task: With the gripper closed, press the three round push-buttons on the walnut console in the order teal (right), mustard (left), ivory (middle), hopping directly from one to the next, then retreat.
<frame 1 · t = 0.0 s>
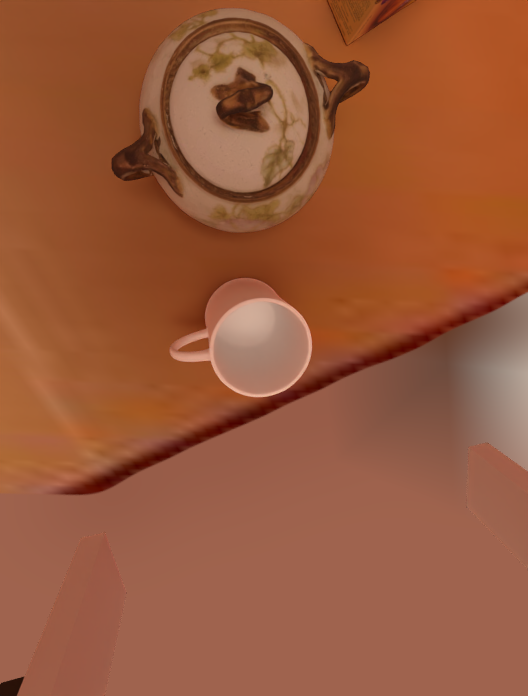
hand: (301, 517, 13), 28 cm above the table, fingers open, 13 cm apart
sugar bowl: (232, 151, 34), on the table
mug: (229, 318, 39), on the table
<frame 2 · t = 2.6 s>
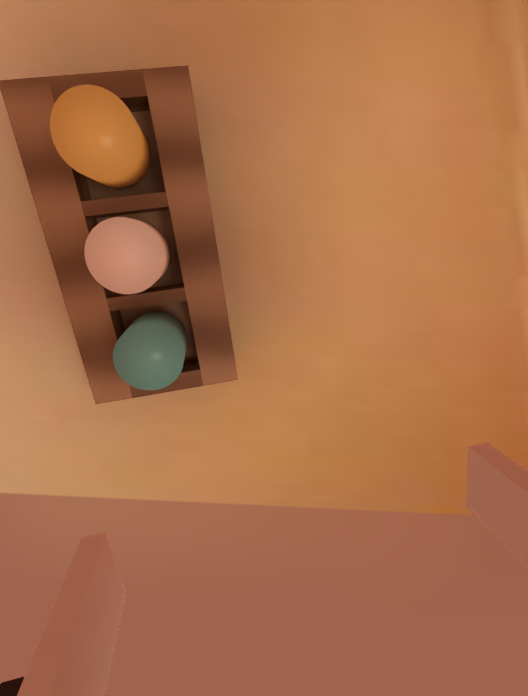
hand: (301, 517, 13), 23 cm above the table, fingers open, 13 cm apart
console: (145, 251, 31), on the table
teal button: (153, 348, 28), point 6 cm above the table, slide at 0.0 cm
ivory button: (132, 254, 25), point 6 cm above the table, slide at 0.0 cm
mustard button: (106, 143, 23), point 6 cm above the table, slide at 0.0 cm
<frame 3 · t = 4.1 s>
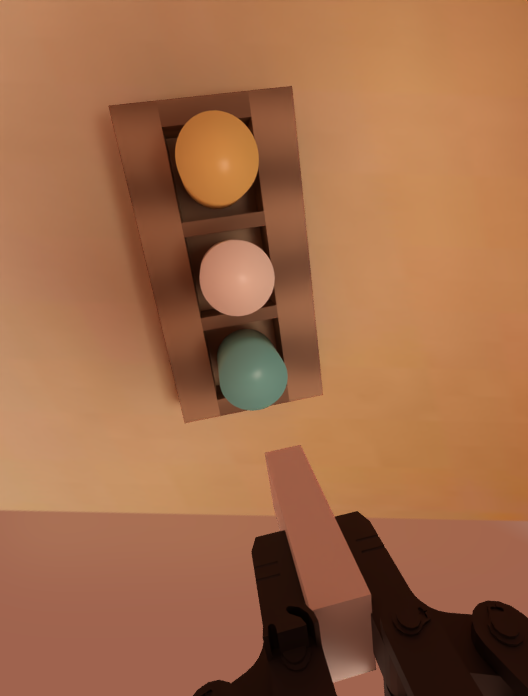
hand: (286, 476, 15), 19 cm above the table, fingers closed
console: (228, 268, 31), on the table
teal button: (249, 367, 27), point 6 cm above the table, slide at 0.0 cm
ivory button: (234, 275, 25), point 6 cm above the table, slide at 0.0 cm
mustard button: (216, 166, 23), point 6 cm above the table, slide at 0.0 cm
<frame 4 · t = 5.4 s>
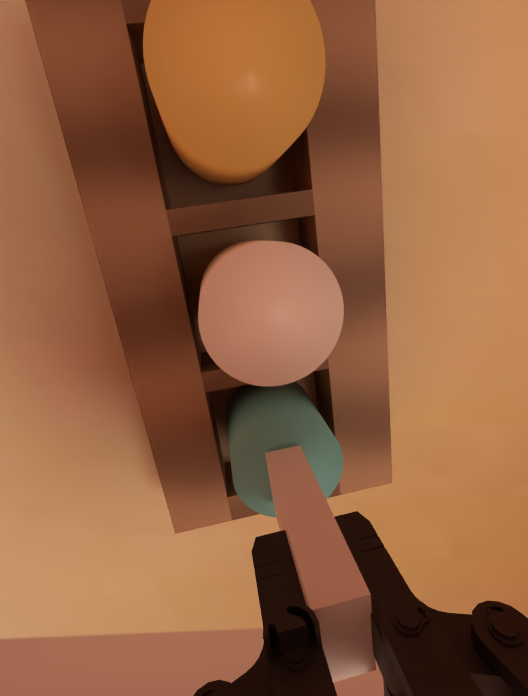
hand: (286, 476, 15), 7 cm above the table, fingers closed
console: (245, 285, 19), on the table
teal button: (277, 439, 18), point 4 cm above the table, slide at -1.4 cm, touching gripper
ivory button: (261, 304, 14), point 6 cm above the table, slide at 0.0 cm
mustard button: (231, 96, 12), point 6 cm above the table, slide at 0.0 cm
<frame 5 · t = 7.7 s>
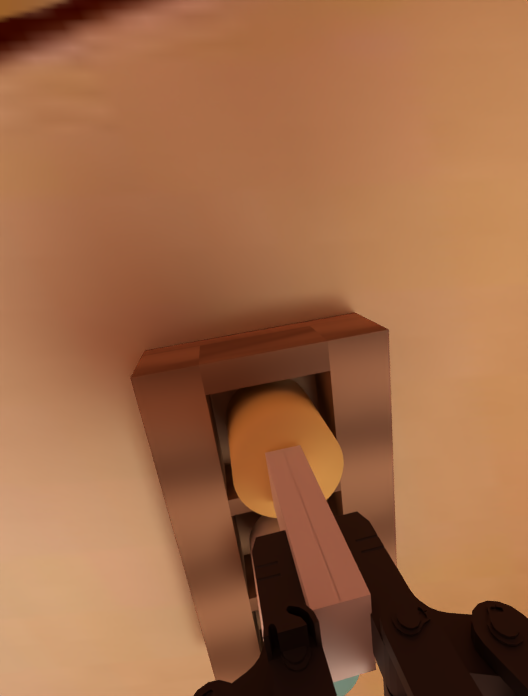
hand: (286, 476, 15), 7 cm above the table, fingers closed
console: (279, 497, 24), on the table
teal button: (306, 632, 22), point 4 cm above the table, slide at -1.9 cm
ivory button: (301, 575, 18), point 6 cm above the table, slide at 0.0 cm
mustard button: (278, 440, 18), point 4 cm above the table, slide at -1.6 cm, touching gripper
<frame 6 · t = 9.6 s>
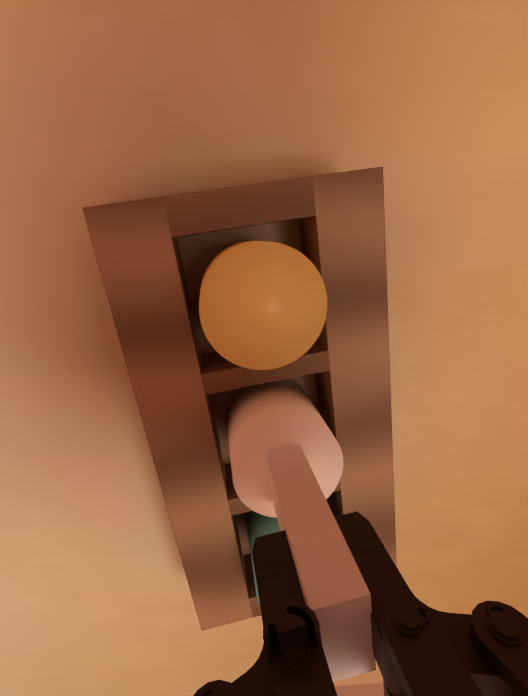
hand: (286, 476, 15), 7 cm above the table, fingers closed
console: (264, 402, 22), on the table
teal button: (293, 545, 20), point 4 cm above the table, slide at -1.9 cm
ivory button: (277, 439, 18), point 4 cm above the table, slide at -1.6 cm
mustard button: (255, 298, 16), point 4 cm above the table, slide at -1.9 cm
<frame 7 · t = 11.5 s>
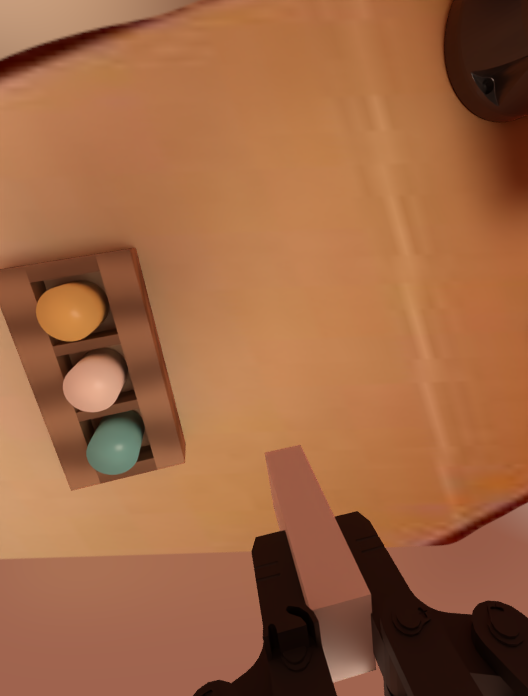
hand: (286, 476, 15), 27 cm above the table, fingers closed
console: (107, 365, 39), on the table
teal button: (117, 440, 37), point 4 cm above the table, slide at -1.9 cm
ivory button: (98, 378, 35), point 4 cm above the table, slide at -1.9 cm
mustard button: (75, 309, 33), point 4 cm above the table, slide at -1.9 cm
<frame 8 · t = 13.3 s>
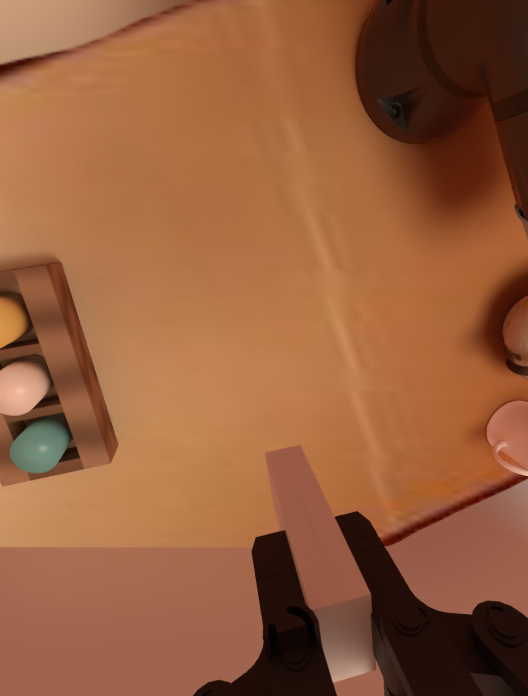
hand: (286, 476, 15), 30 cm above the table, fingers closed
console: (38, 371, 42), on the table
teal button: (44, 440, 40), point 4 cm above the table, slide at -1.9 cm
sugar bowl: (526, 323, 51), on the table
ivory button: (23, 384, 38), point 4 cm above the table, slide at -1.9 cm
mug: (500, 426, 56), on the table
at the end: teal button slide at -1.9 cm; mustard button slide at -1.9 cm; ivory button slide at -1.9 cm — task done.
